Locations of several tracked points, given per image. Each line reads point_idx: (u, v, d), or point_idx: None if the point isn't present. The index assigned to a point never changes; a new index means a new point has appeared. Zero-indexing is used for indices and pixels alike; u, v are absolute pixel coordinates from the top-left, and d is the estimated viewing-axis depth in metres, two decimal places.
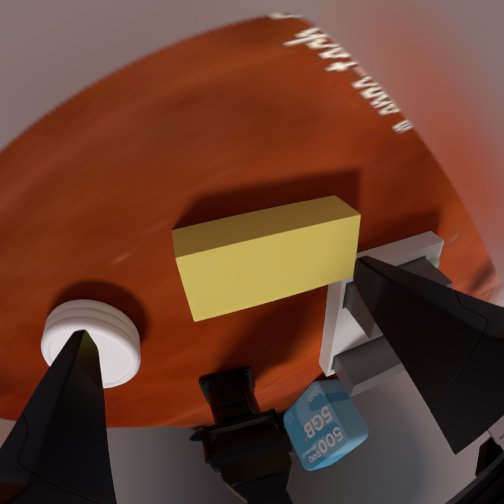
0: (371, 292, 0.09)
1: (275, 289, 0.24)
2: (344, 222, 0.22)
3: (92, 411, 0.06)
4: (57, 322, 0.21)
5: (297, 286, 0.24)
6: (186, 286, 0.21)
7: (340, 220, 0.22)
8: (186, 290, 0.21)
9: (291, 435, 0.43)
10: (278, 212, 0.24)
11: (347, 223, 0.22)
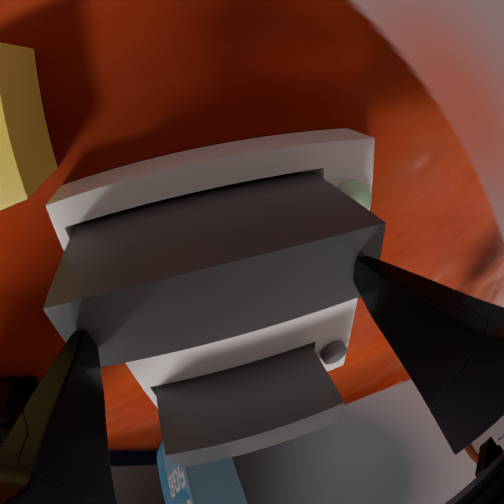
0: (371, 292, 0.09)
1: None
2: None
3: (92, 411, 0.06)
4: None
5: None
6: None
7: None
8: None
9: (162, 483, 0.25)
10: None
11: None
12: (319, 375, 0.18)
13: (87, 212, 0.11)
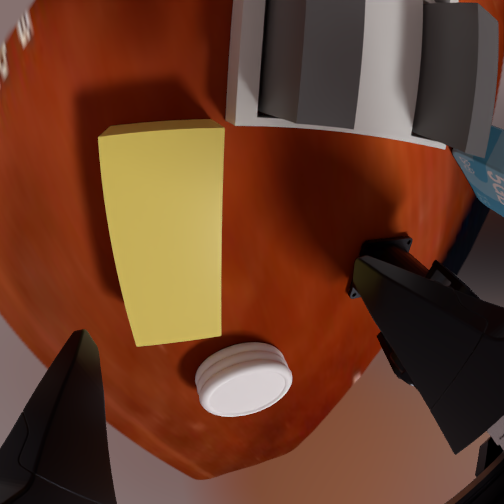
0: (371, 292, 0.09)
1: (201, 258, 0.17)
2: (107, 166, 0.13)
3: (92, 411, 0.06)
4: (201, 403, 0.28)
5: (207, 228, 0.16)
6: (171, 341, 0.20)
7: (104, 172, 0.13)
8: (176, 341, 0.20)
9: (502, 215, 0.26)
10: None
11: (109, 160, 0.13)
12: (450, 8, 0.11)
13: (252, 95, 0.15)
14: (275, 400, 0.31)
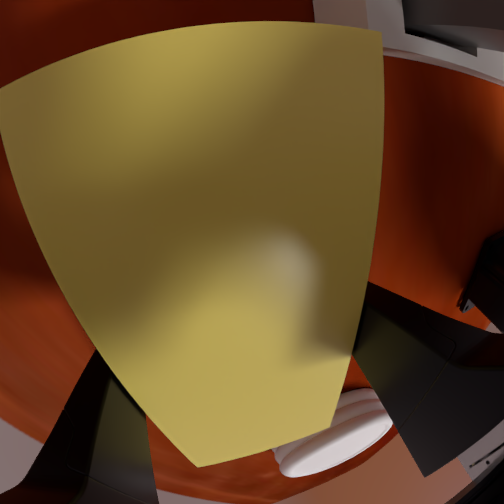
0: None
1: (319, 350, 0.08)
2: (33, 176, 0.03)
3: (134, 405, 0.07)
4: (281, 471, 0.19)
5: (338, 295, 0.07)
6: (252, 452, 0.11)
7: (31, 197, 0.04)
8: (260, 451, 0.11)
9: None
10: None
11: (36, 156, 0.03)
12: None
13: None
14: (369, 445, 0.21)
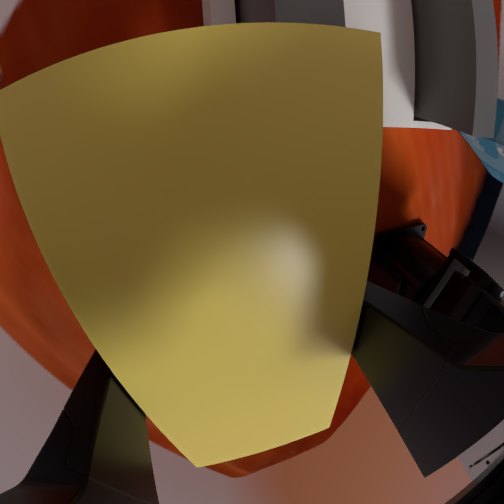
0: None
1: (318, 351, 0.08)
2: (32, 178, 0.03)
3: (134, 405, 0.07)
4: None
5: (337, 296, 0.07)
6: (252, 453, 0.11)
7: (31, 199, 0.04)
8: (260, 451, 0.11)
9: None
10: None
11: (36, 158, 0.03)
12: None
13: None
14: None
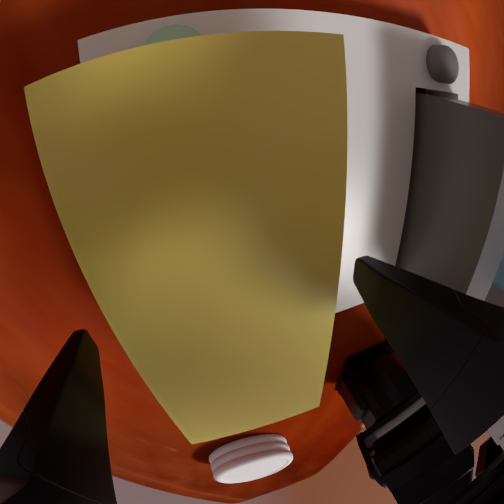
0: (371, 292, 0.09)
1: (301, 319, 0.09)
2: (56, 155, 0.04)
3: (92, 411, 0.06)
4: None
5: (314, 264, 0.08)
6: (245, 429, 0.12)
7: (53, 172, 0.05)
8: (252, 428, 0.12)
9: None
10: None
11: (60, 139, 0.04)
12: (460, 116, 0.09)
13: None
14: (281, 468, 0.31)
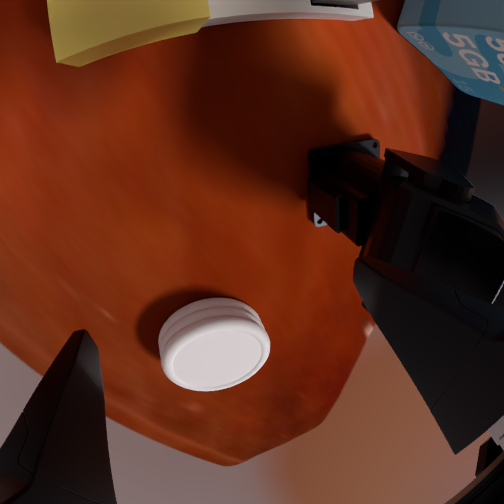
0: (371, 292, 0.09)
1: None
2: None
3: (92, 411, 0.06)
4: None
5: None
6: (116, 33, 0.08)
7: None
8: (125, 33, 0.08)
9: (492, 99, 0.18)
10: None
11: None
12: None
13: None
14: (257, 366, 0.27)
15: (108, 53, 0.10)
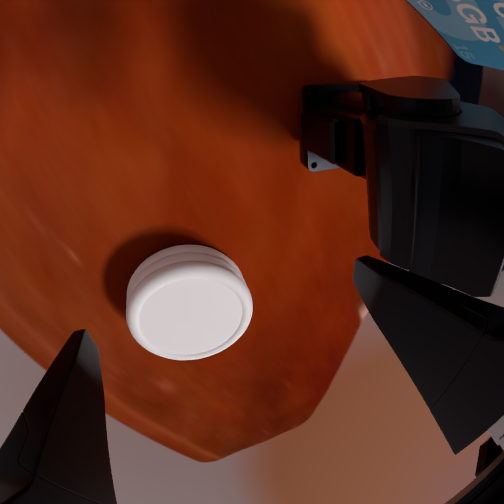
0: (371, 292, 0.09)
1: None
2: None
3: (92, 411, 0.06)
4: None
5: None
6: None
7: None
8: None
9: (493, 65, 0.16)
10: None
11: None
12: None
13: None
14: (237, 333, 0.24)
15: None
